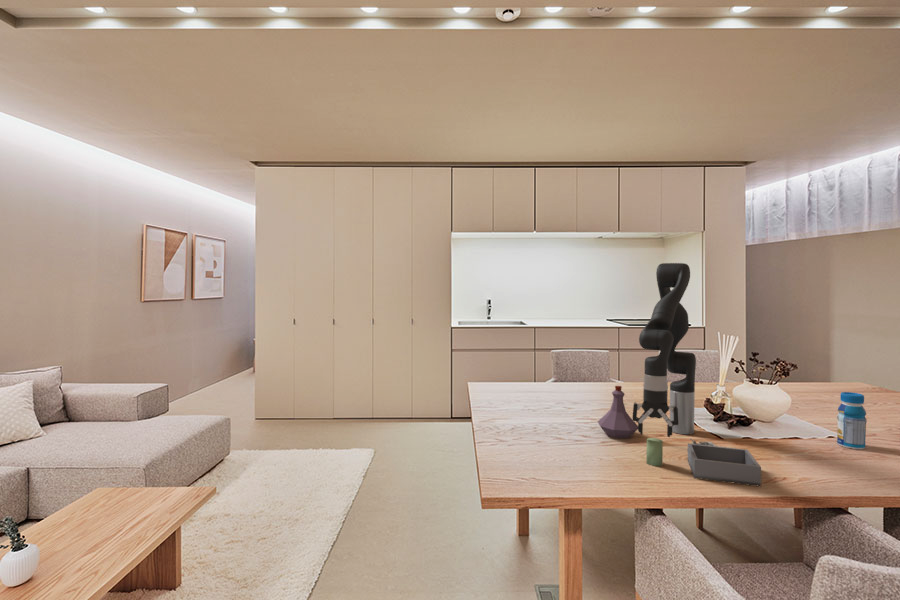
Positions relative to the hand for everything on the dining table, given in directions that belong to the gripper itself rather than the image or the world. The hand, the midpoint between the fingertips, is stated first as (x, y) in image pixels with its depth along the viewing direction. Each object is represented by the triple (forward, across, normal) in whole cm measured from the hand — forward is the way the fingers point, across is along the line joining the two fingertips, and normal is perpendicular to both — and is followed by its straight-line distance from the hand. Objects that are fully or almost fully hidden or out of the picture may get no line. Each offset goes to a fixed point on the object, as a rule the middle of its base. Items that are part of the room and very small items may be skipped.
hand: (654, 435), depth 159 cm
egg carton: (+10, -18, -17) cm, 27 cm away
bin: (+10, -20, +1) cm, 22 cm away
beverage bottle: (+9, -71, -44) cm, 84 cm away
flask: (+10, +12, -28) cm, 32 cm away
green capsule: (+10, 0, 0) cm, 10 cm away
